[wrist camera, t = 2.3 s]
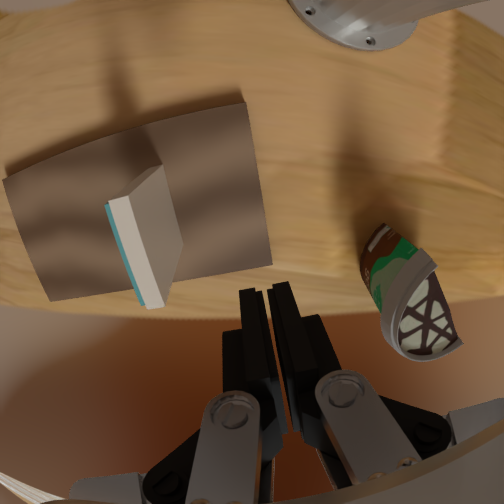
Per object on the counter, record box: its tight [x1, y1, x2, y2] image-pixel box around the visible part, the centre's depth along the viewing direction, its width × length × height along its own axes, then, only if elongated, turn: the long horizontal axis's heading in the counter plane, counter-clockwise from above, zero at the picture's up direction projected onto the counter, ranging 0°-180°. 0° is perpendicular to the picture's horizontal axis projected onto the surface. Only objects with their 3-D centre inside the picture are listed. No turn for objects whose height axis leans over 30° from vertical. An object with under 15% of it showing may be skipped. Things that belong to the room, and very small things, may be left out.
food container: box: [360, 223, 464, 362], centre depth 26 cm, size 12×6×10 cm, turn 39°
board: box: [2, 102, 273, 302], centre depth 25 cm, size 14×24×1 cm, turn 99°
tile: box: [104, 165, 183, 309], centre depth 20 cm, size 7×2×9 cm, turn 9°
